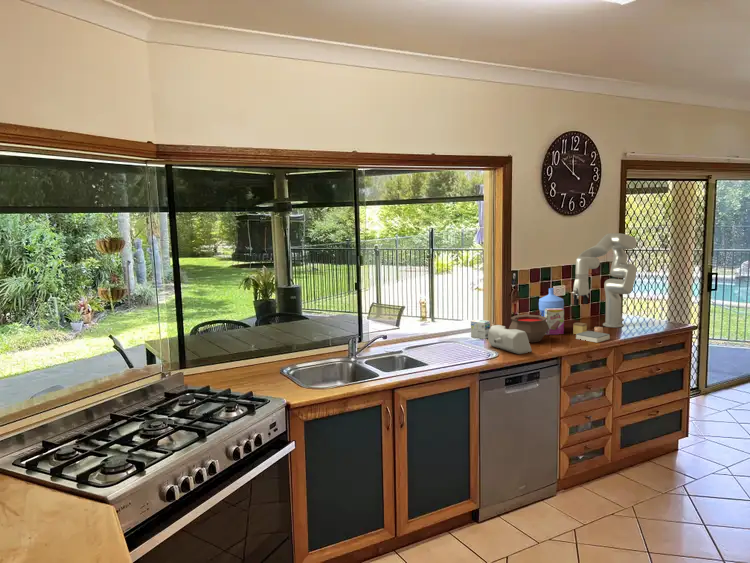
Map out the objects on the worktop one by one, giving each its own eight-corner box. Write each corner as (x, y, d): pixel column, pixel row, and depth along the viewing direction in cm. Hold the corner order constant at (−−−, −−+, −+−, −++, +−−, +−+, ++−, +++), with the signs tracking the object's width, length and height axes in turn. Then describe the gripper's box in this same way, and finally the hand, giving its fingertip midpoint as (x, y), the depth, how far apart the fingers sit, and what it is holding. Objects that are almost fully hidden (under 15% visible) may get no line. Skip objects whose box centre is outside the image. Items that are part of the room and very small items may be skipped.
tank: (481, 347, 312) (481, 326, 310) (503, 343, 319) (502, 323, 317) (509, 356, 289) (509, 334, 288) (532, 352, 296) (532, 330, 295)
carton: (577, 333, 338) (577, 322, 337) (586, 334, 332) (586, 323, 331) (573, 334, 335) (573, 323, 334) (582, 336, 330) (582, 324, 329)
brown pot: (531, 346, 309) (531, 319, 307) (500, 339, 329) (500, 313, 327) (557, 339, 322) (557, 313, 320) (526, 333, 342) (526, 308, 340)
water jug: (558, 327, 356) (558, 286, 352) (567, 332, 340) (567, 289, 337) (535, 328, 355) (535, 287, 352) (543, 333, 340) (543, 290, 336)
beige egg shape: (597, 334, 333) (597, 326, 332) (604, 335, 329) (604, 327, 328) (592, 335, 330) (592, 327, 330) (599, 336, 326) (600, 328, 326)
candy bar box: (546, 335, 335) (546, 309, 333) (544, 333, 340) (544, 308, 338) (564, 334, 335) (564, 309, 333) (562, 333, 340) (562, 307, 338)
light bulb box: (490, 337, 336) (490, 320, 334) (485, 339, 331) (484, 322, 330) (476, 335, 343) (476, 319, 342) (470, 337, 338) (470, 320, 337)
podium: (588, 335, 330) (588, 330, 330) (609, 339, 319) (609, 334, 319) (575, 338, 323) (575, 333, 323) (596, 342, 312) (597, 337, 311)
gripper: (584, 276, 338) (583, 302, 340) (568, 277, 328) (567, 305, 330) (595, 276, 332) (594, 304, 334) (578, 278, 322) (577, 306, 324)
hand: (580, 304), depth 332 cm, fingers open, 9 cm apart
